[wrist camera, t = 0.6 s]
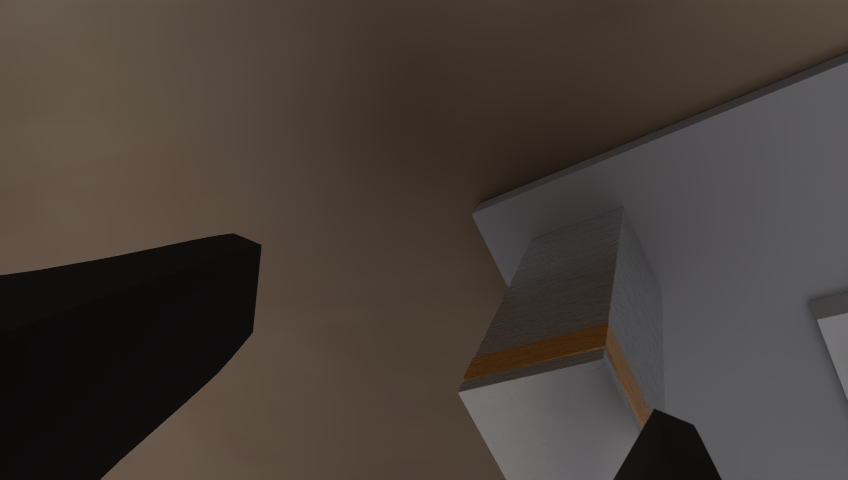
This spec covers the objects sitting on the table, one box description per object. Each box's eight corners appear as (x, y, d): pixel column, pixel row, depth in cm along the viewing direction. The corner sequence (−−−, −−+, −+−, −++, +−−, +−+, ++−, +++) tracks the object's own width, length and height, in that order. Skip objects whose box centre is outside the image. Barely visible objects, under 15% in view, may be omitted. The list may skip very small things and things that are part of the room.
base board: (1264, 518, 15) (1342, 587, 13) (655, 553, 23) (655, 600, 21) (1142, -69, 12) (1226, -78, 10) (479, 204, 19) (462, 225, 18)
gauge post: (662, 291, 17) (668, 492, 10) (569, 317, 19) (521, 508, 12) (624, 204, 17) (604, 357, 10) (530, 238, 18) (456, 391, 11)
